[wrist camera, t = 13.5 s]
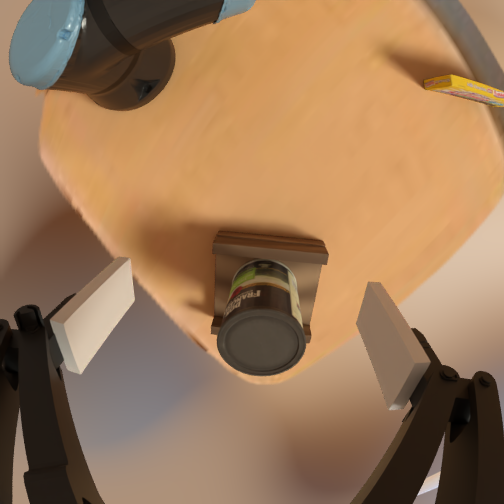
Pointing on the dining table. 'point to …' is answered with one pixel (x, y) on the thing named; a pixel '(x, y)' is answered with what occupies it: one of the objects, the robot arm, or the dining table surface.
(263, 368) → the coffee can
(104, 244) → the dining table surface
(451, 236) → the dining table surface
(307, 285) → the stand
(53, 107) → the dining table surface
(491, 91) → the candy box
